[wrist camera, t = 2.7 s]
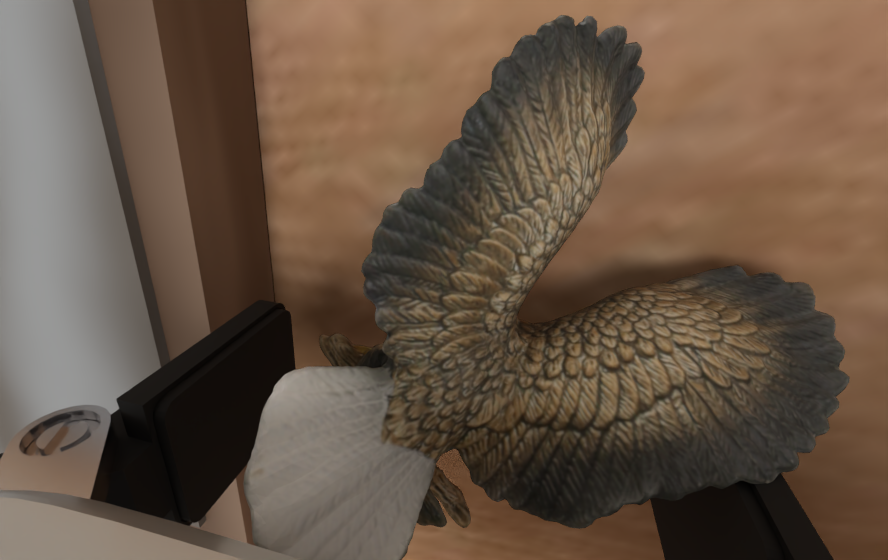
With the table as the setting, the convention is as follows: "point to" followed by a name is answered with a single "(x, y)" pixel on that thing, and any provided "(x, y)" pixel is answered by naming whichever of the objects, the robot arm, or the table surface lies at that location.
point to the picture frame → (124, 201)
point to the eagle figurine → (533, 344)
